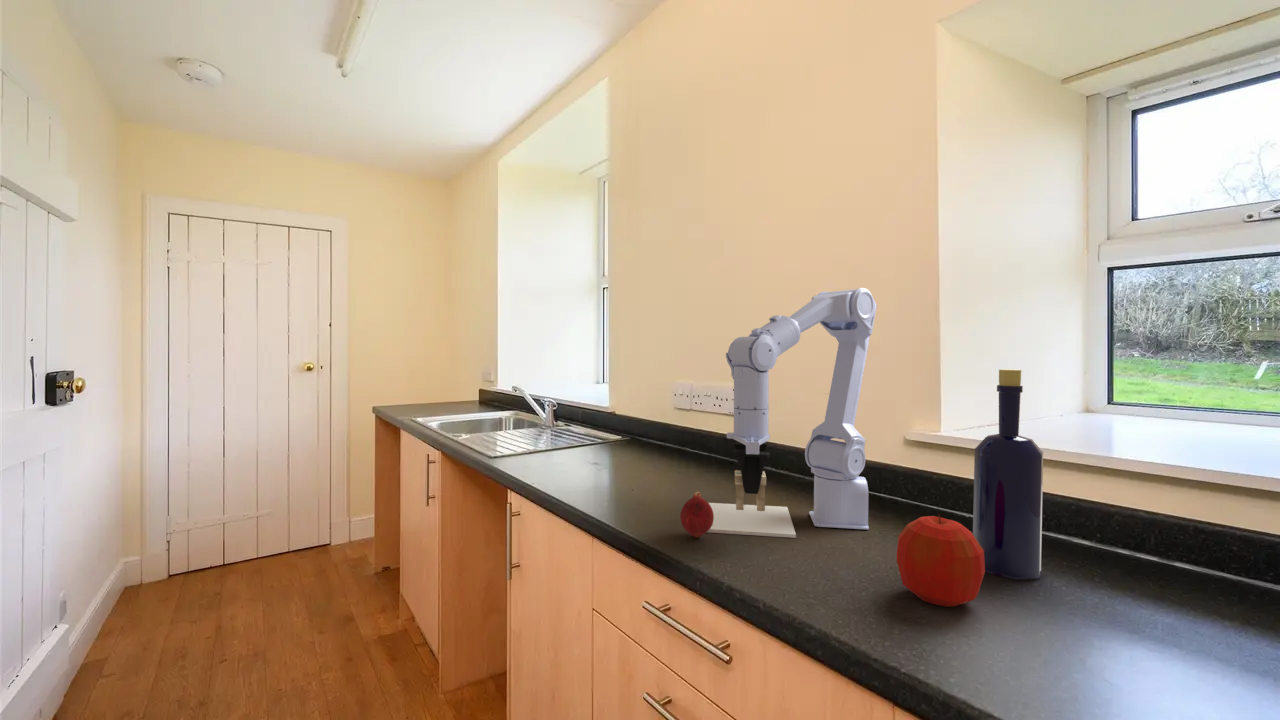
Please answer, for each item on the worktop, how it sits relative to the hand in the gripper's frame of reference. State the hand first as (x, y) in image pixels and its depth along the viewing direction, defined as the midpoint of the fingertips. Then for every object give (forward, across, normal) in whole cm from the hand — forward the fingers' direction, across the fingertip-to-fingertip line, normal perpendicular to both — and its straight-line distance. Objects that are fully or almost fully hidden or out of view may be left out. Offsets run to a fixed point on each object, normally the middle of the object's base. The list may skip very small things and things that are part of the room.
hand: (750, 488), depth 90 cm
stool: (+3, 0, 0) cm, 3 cm away
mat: (+10, -12, 0) cm, 16 cm away
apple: (+10, +16, +24) cm, 30 cm away
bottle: (+10, +3, +38) cm, 39 cm away
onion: (+10, -2, -9) cm, 13 cm away
